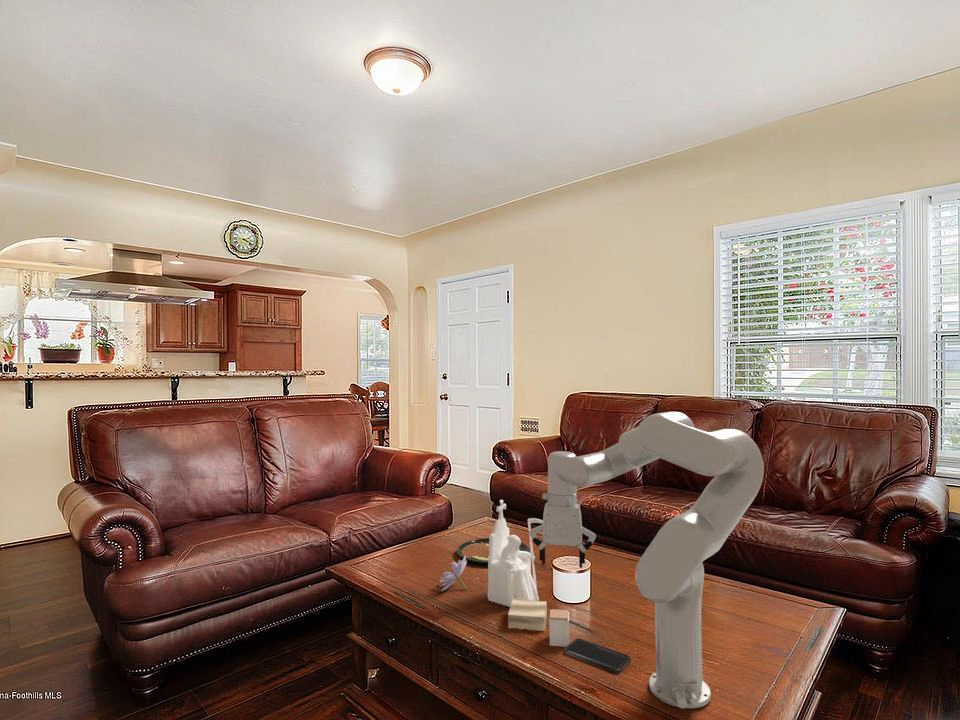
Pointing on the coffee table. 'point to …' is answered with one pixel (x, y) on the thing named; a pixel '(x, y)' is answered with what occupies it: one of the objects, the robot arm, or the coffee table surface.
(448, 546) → the coffee table surface
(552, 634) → the peach rectangular block
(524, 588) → the religious statue
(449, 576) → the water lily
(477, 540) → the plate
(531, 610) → the block
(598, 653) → the phone
